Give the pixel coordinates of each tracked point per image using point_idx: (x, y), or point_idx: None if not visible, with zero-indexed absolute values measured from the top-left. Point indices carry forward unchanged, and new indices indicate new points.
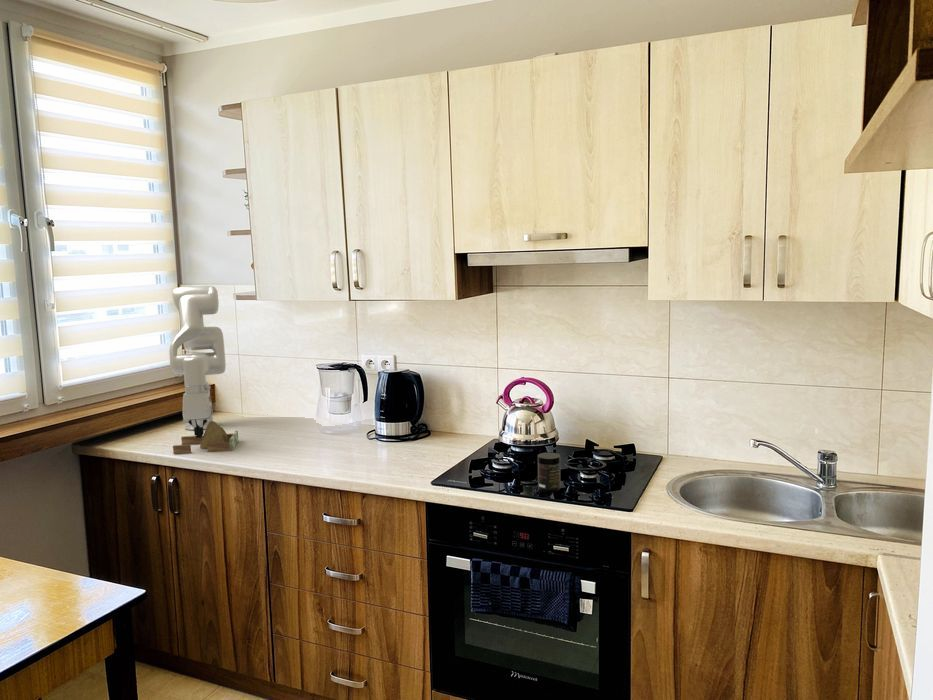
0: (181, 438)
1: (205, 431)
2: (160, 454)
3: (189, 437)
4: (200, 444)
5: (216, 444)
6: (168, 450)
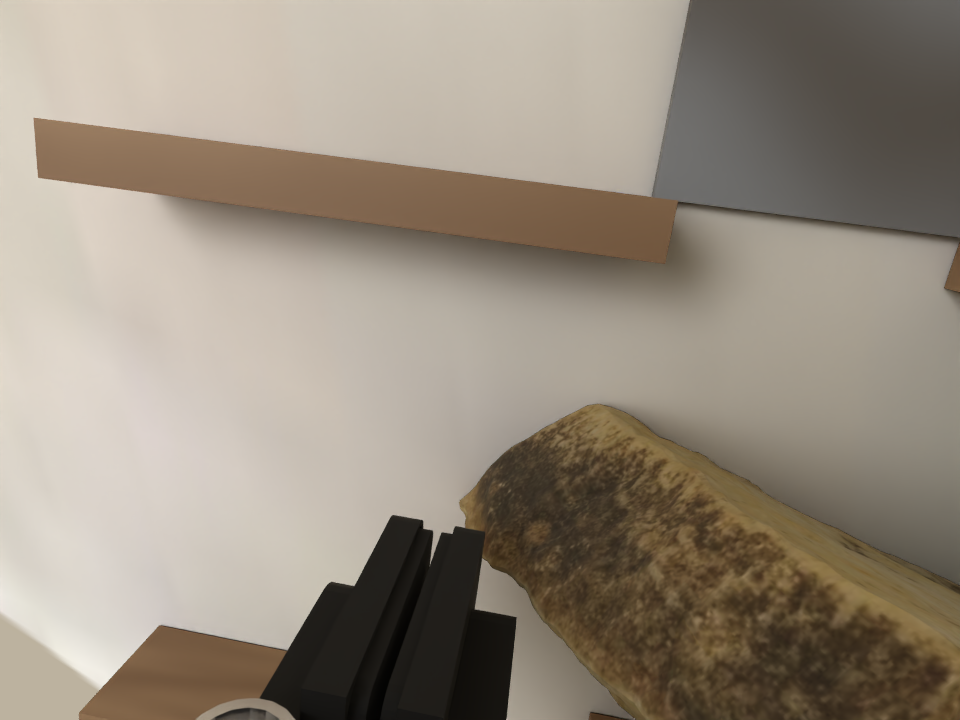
0: (60, 176)
1: (563, 635)
2: (5, 601)
3: (206, 198)
4: (468, 526)
5: None
6: (42, 448)
